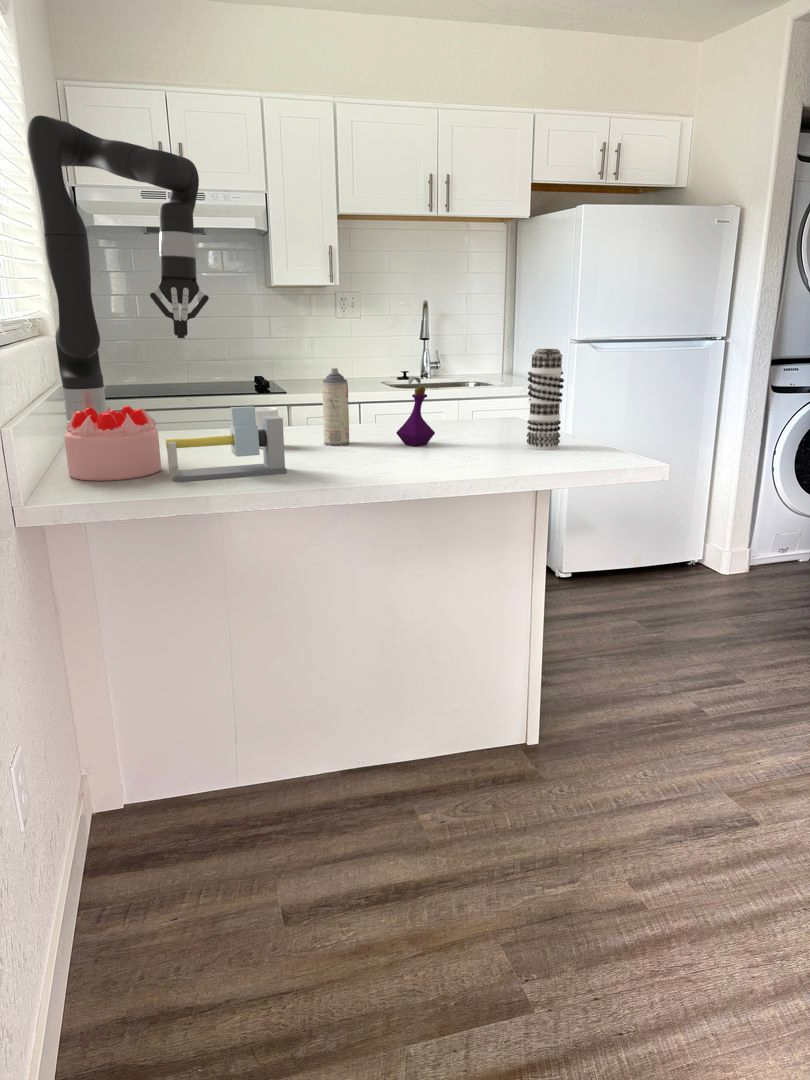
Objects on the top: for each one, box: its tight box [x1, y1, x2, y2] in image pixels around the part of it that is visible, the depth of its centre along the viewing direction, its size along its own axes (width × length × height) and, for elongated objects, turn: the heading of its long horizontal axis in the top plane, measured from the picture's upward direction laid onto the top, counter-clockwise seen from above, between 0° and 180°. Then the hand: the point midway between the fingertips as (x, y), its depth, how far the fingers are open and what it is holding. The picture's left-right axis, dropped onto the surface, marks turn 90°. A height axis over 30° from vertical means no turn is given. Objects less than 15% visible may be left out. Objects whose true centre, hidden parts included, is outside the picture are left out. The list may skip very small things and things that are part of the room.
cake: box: [63, 405, 162, 482], centre depth 176 cm, size 20×20×14 cm
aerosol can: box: [321, 367, 350, 447], centre depth 211 cm, size 7×7×20 cm
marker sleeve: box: [229, 406, 261, 458], centre depth 174 cm, size 5×6×10 cm
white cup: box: [255, 406, 279, 450], centre depth 209 cm, size 8×8×10 cm
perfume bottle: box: [396, 376, 436, 448], centre depth 209 cm, size 8×8×18 cm
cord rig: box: [165, 415, 287, 483], centre depth 173 cm, size 25×8×12 cm, turn 112°
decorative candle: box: [526, 348, 565, 451], centre depth 203 cm, size 9×9×25 cm
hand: (181, 338), depth 175 cm, fingers closed
